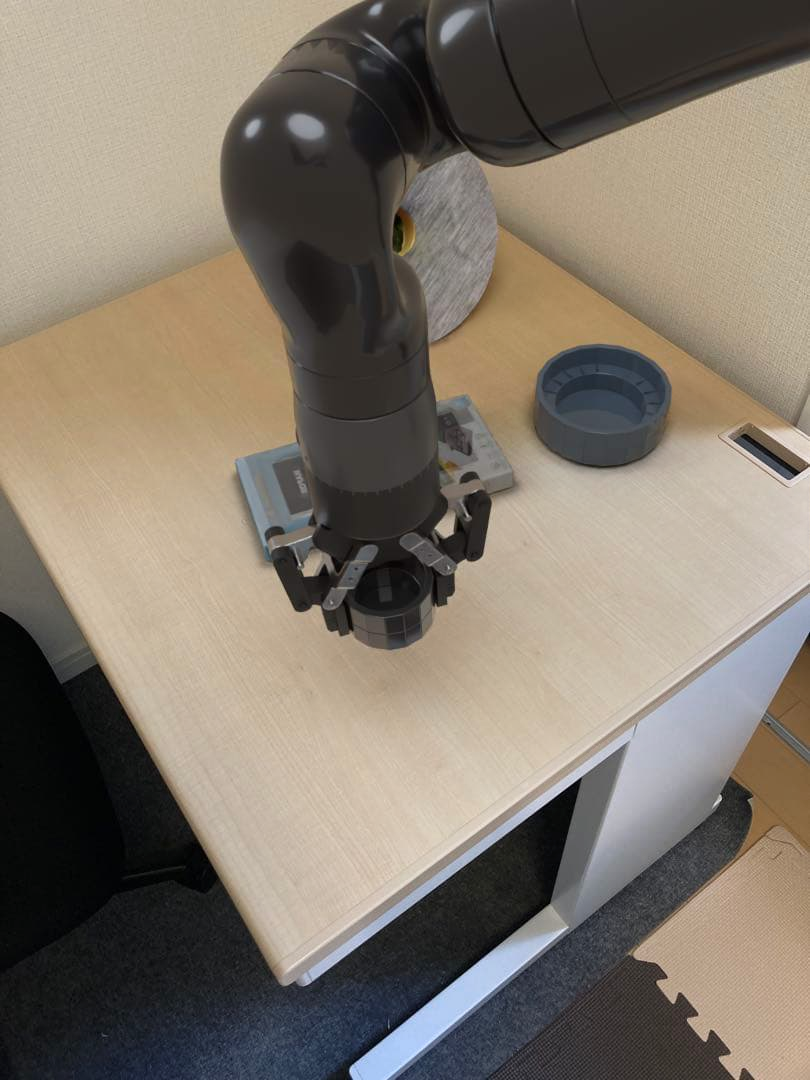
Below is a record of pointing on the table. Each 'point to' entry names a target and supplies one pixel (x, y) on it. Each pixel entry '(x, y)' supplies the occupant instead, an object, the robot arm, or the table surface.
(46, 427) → the table surface
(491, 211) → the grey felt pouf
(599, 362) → the grey bowl
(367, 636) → the black cup
